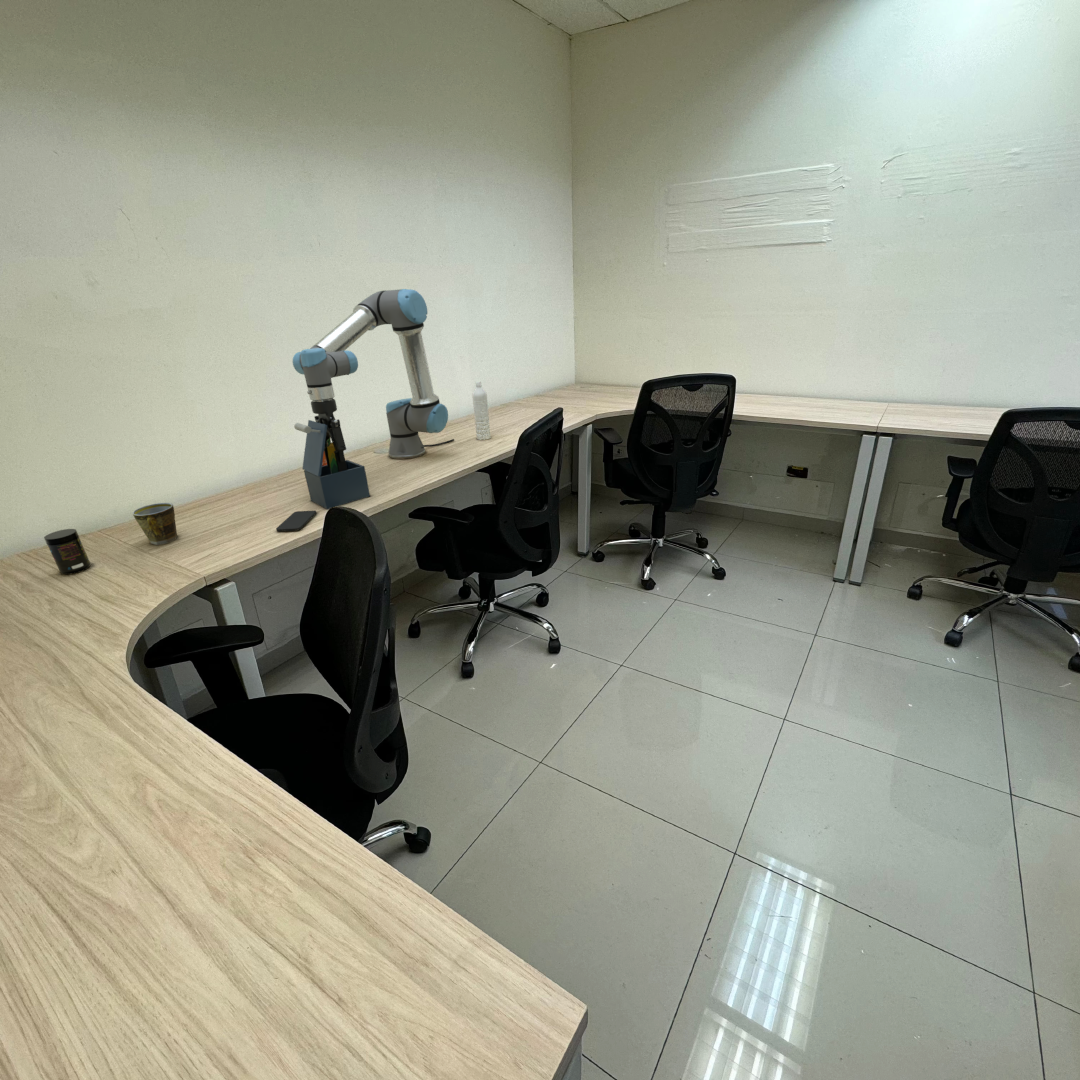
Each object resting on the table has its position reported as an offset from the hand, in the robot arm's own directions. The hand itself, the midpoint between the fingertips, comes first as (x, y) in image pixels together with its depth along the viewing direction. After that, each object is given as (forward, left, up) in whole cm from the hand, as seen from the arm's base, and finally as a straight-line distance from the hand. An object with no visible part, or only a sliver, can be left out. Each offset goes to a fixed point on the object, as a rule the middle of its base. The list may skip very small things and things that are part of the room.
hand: (337, 468), depth 186 cm
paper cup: (-2, -21, -11) cm, 24 cm away
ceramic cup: (+53, -7, -11) cm, 55 cm away
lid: (+6, 0, +8) cm, 10 cm away
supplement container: (+74, -5, -11) cm, 75 cm away
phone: (+20, +10, -11) cm, 25 cm away
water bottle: (-82, -25, -11) cm, 86 cm away
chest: (+1, 0, -11) cm, 11 cm away
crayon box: (0, 0, -2) cm, 2 cm away
